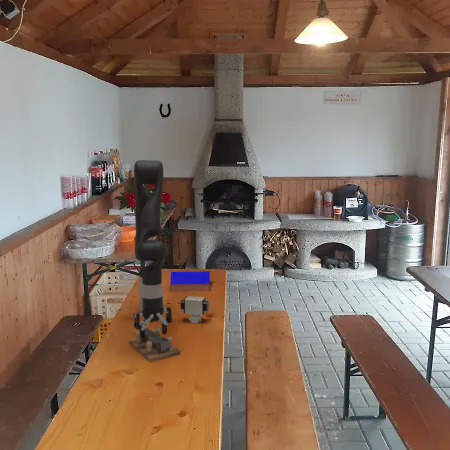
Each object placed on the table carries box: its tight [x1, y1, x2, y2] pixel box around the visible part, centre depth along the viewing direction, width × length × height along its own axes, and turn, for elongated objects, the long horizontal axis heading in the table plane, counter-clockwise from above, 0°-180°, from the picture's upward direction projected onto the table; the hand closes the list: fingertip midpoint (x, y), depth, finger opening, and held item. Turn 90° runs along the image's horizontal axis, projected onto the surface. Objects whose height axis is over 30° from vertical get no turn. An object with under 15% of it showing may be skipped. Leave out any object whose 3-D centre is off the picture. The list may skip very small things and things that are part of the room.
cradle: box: [128, 327, 181, 363], centre depth 179 cm, size 20×12×5 cm, turn 33°
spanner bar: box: [141, 327, 169, 353], centre depth 179 cm, size 16×4×4 cm, turn 39°
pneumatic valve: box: [180, 295, 210, 324], centre depth 205 cm, size 6×12×12 cm, turn 79°
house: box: [170, 270, 211, 292], centre depth 248 cm, size 12×20×12 cm, turn 92°
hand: (153, 336), depth 179 cm, fingers open, 8 cm apart
